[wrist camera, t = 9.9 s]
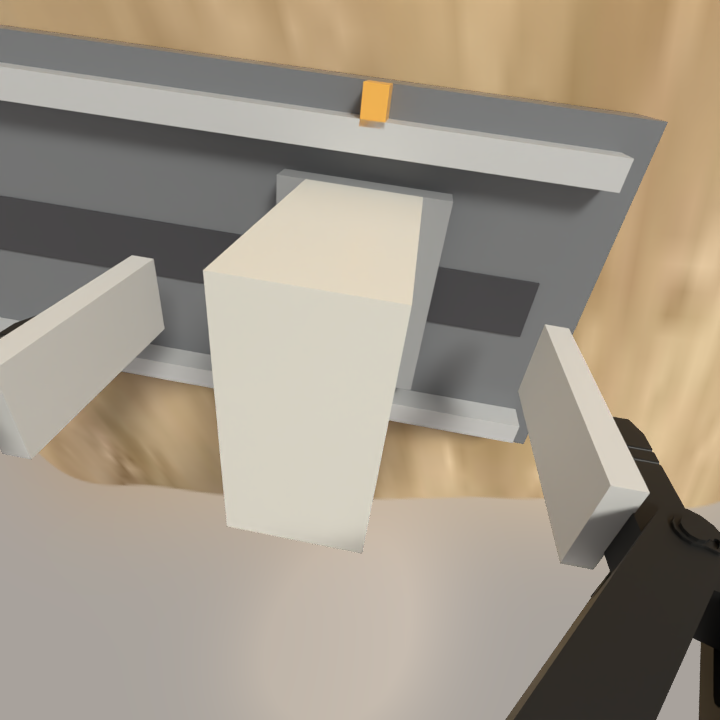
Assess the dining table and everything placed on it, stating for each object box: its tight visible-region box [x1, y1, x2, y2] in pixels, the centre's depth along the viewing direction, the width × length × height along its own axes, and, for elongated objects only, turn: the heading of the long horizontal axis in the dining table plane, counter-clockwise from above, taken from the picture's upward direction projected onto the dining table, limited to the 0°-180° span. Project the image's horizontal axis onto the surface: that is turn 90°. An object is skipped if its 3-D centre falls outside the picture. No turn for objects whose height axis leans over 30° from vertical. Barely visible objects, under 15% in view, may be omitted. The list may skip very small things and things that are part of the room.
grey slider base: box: [0, 25, 668, 444], centre depth 19 cm, size 28×14×4 cm, turn 83°
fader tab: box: [203, 169, 453, 553], centre depth 14 cm, size 6×8×9 cm
